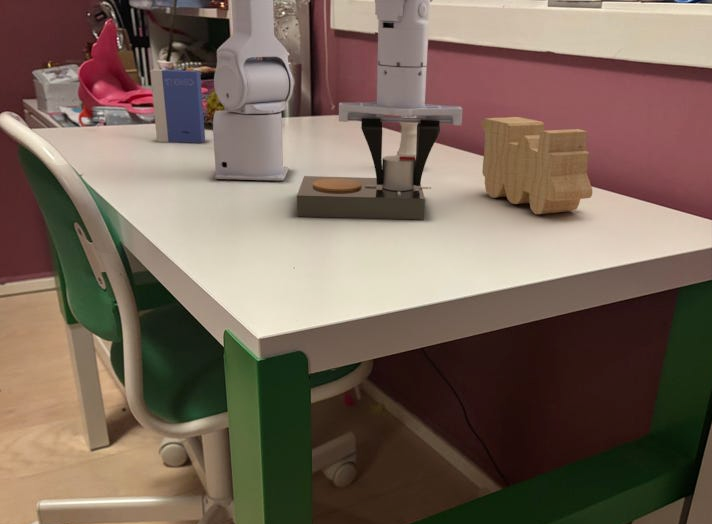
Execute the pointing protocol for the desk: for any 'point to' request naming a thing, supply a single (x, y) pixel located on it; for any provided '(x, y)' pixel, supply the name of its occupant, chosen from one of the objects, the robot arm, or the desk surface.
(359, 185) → the burner
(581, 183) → the toy train
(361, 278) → the desk surface
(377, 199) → the hob
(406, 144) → the rook chess piece
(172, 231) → the desk surface
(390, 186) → the hob knob
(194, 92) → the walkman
